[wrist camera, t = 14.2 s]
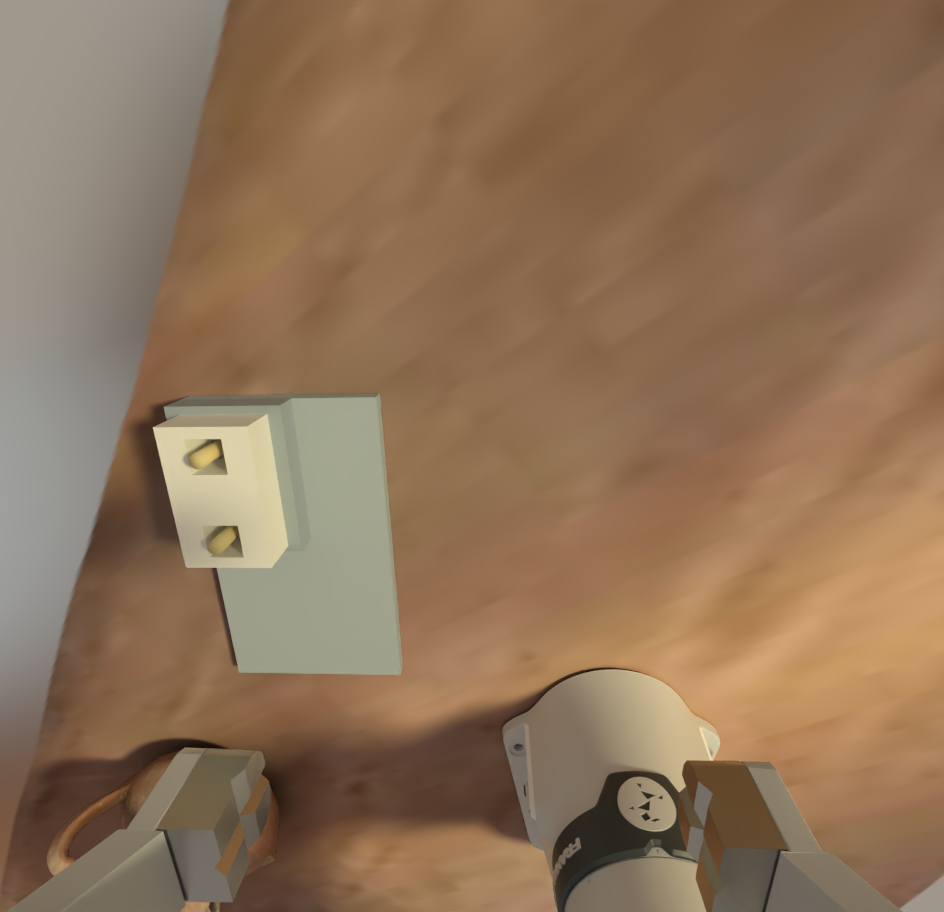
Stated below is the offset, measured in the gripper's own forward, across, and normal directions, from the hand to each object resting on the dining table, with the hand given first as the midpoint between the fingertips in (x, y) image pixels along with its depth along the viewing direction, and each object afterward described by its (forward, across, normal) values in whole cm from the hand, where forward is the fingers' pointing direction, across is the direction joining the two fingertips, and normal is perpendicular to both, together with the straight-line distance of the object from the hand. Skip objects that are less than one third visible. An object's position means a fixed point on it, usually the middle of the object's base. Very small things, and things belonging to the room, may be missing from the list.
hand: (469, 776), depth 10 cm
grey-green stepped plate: (+29, +15, +11) cm, 34 cm away
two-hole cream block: (+26, +18, +5) cm, 32 cm away
